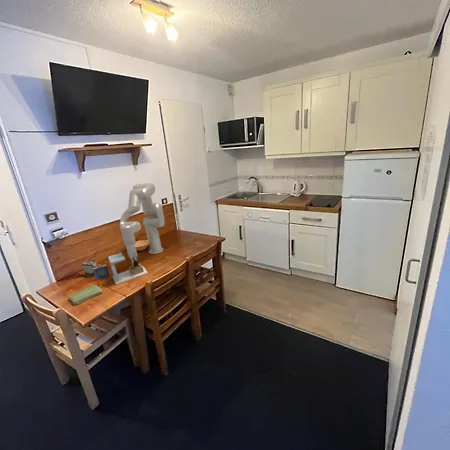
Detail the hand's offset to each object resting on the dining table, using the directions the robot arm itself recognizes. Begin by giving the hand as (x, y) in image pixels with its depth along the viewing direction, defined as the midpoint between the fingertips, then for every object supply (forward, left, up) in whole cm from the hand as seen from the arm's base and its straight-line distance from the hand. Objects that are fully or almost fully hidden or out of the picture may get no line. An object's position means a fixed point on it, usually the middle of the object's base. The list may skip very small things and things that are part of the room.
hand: (135, 265), depth 181 cm
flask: (-11, -22, -6) cm, 25 cm away
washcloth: (+8, -34, -7) cm, 36 cm away
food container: (-23, -27, -6) cm, 36 cm away
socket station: (0, -5, -6) cm, 8 cm away
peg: (0, 0, -4) cm, 4 cm away
